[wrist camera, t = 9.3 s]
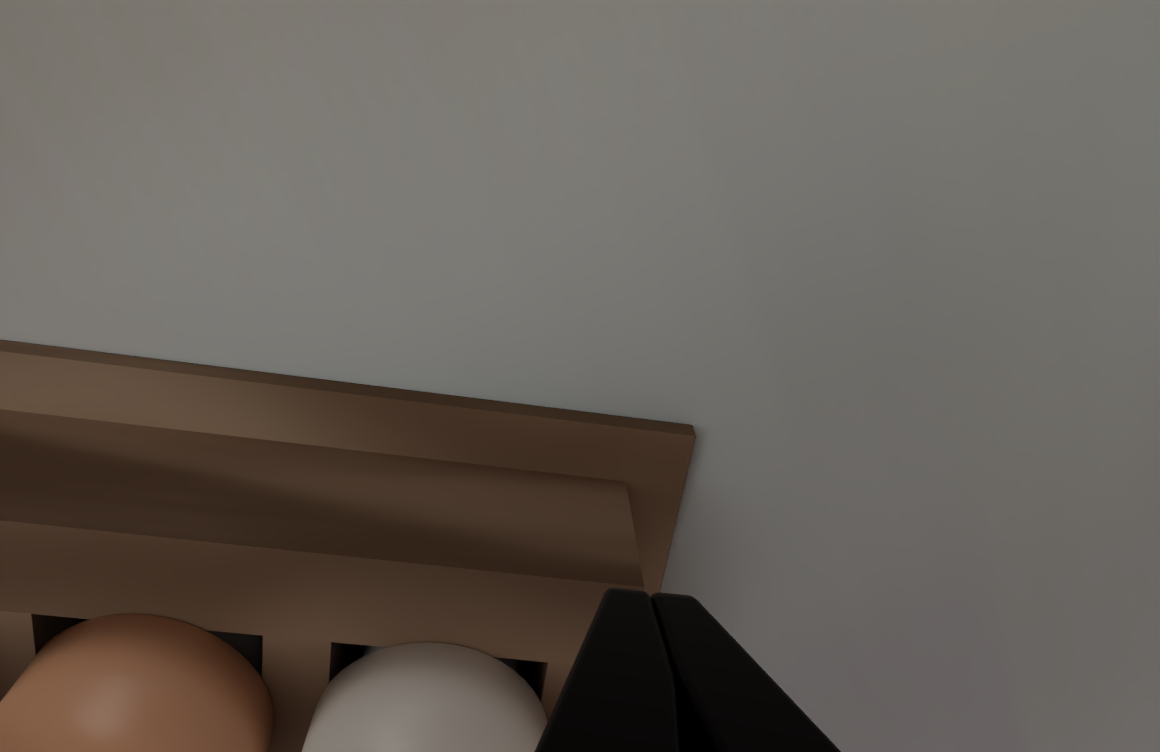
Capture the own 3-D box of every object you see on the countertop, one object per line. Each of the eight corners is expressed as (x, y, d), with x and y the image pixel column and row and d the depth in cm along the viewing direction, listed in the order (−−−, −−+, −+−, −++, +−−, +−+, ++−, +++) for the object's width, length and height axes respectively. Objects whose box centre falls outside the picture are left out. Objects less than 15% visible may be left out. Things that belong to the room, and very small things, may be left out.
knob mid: (309, 695, 23) (248, 879, 18) (106, 677, 23) (-12, 862, 18) (317, 532, 21) (250, 690, 16) (93, 508, 21) (-43, 664, 16)
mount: (612, 771, 27) (626, 927, 22) (-194, 705, 25) (-358, 864, 20) (692, 424, 22) (730, 534, 18) (-294, 303, 20) (-536, 394, 15)
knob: (532, 715, 24) (530, 898, 19) (339, 698, 23) (287, 882, 19) (560, 557, 22) (566, 718, 17) (350, 535, 21) (294, 694, 17)
